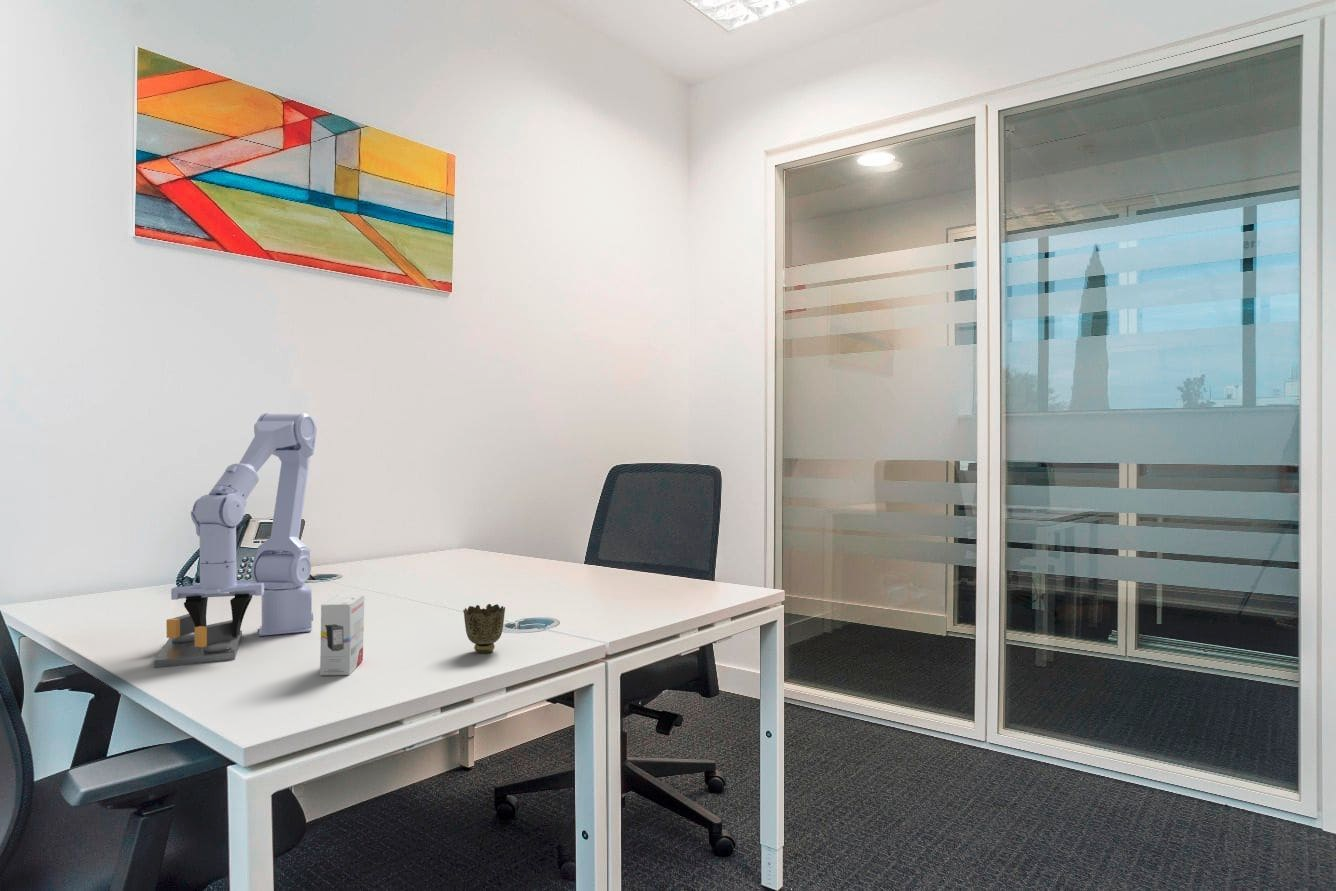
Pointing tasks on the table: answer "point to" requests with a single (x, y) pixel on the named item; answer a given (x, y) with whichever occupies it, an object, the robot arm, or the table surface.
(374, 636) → the table surface
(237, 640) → the plate
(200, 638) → the knob
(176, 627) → the knob
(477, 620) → the cup
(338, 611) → the ink box
